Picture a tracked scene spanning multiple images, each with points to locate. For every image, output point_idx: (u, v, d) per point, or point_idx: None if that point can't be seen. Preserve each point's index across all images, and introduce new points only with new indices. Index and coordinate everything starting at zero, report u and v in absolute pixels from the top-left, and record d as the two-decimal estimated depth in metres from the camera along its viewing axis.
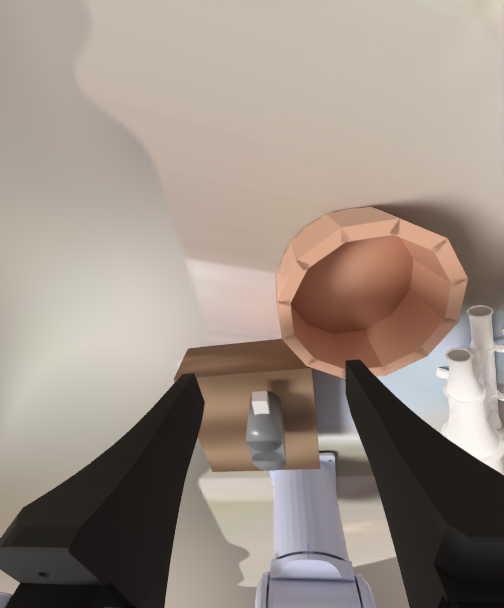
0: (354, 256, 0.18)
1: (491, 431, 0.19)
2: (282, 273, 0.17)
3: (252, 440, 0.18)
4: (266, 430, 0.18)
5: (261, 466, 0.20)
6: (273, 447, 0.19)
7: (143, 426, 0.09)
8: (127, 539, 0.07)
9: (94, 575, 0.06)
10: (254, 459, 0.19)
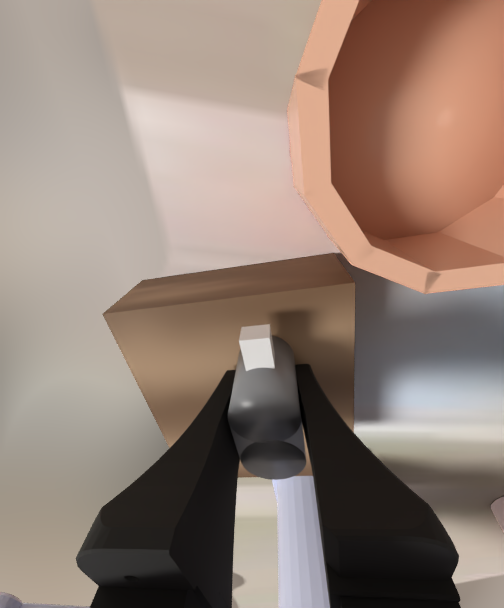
0: (444, 55, 0.09)
1: None
2: None
3: (241, 419, 0.09)
4: (269, 397, 0.09)
5: (259, 470, 0.10)
6: (281, 434, 0.09)
7: (201, 423, 0.09)
8: (206, 540, 0.07)
9: (187, 578, 0.05)
10: (245, 458, 0.10)
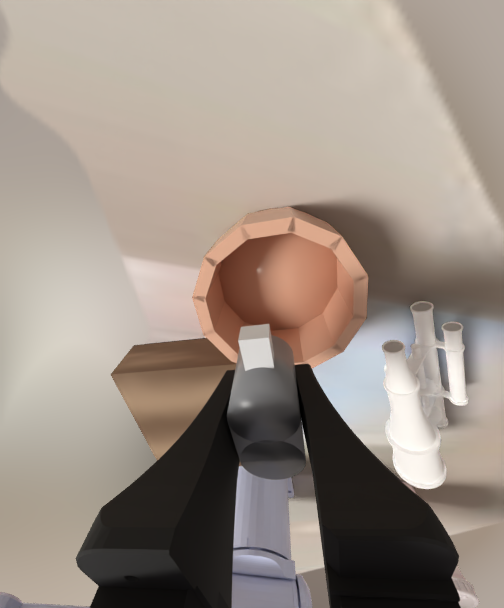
0: (280, 255, 0.19)
1: (427, 425, 0.20)
2: None
3: (240, 419, 0.09)
4: (268, 397, 0.09)
5: (258, 470, 0.10)
6: (281, 434, 0.09)
7: (201, 422, 0.09)
8: (205, 541, 0.07)
9: (187, 578, 0.05)
10: (244, 458, 0.10)
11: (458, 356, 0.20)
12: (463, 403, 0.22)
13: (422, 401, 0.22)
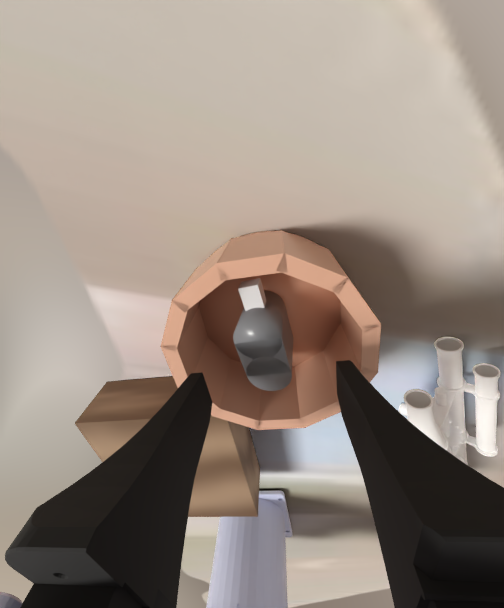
0: (272, 286, 0.16)
1: None
2: None
3: (242, 341, 0.14)
4: (258, 322, 0.13)
5: (260, 383, 0.15)
6: (270, 351, 0.14)
7: (153, 425, 0.09)
8: (141, 539, 0.07)
9: (110, 576, 0.06)
10: (249, 373, 0.15)
11: (492, 404, 0.16)
12: (492, 454, 0.18)
13: None
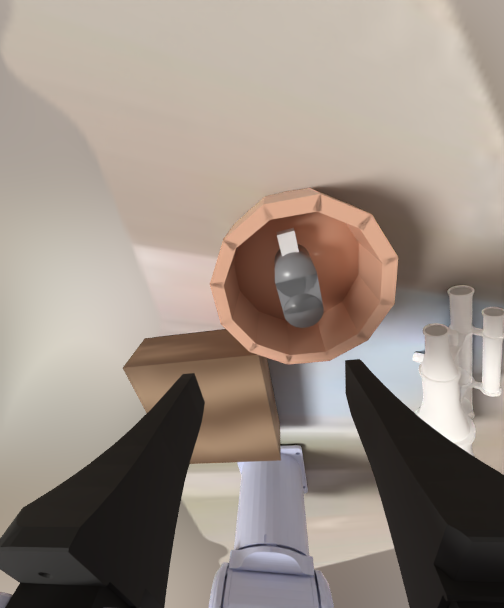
0: (299, 240, 0.18)
1: (463, 415, 0.19)
2: None
3: (282, 281, 0.16)
4: (297, 261, 0.15)
5: (295, 321, 0.17)
6: (307, 288, 0.16)
7: (143, 426, 0.09)
8: (127, 539, 0.07)
9: (94, 575, 0.06)
10: (286, 312, 0.17)
11: (498, 343, 0.19)
12: (496, 394, 0.21)
13: None
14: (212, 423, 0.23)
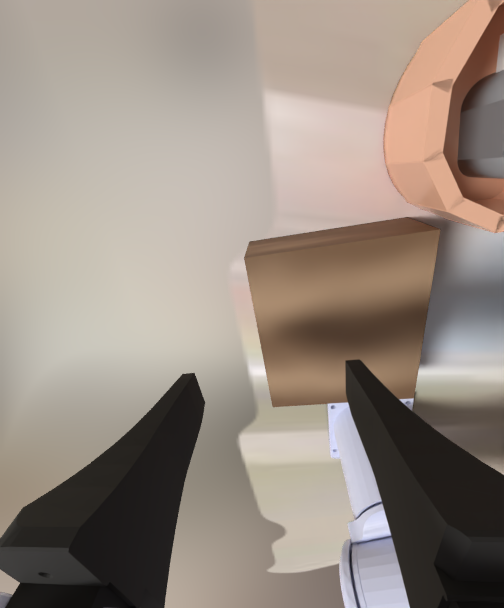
0: None
1: None
2: (421, 70, 0.12)
3: None
4: None
5: None
6: None
7: (143, 426, 0.09)
8: (127, 539, 0.07)
9: (94, 575, 0.06)
10: None
11: None
12: None
13: None
14: (341, 344, 0.18)
